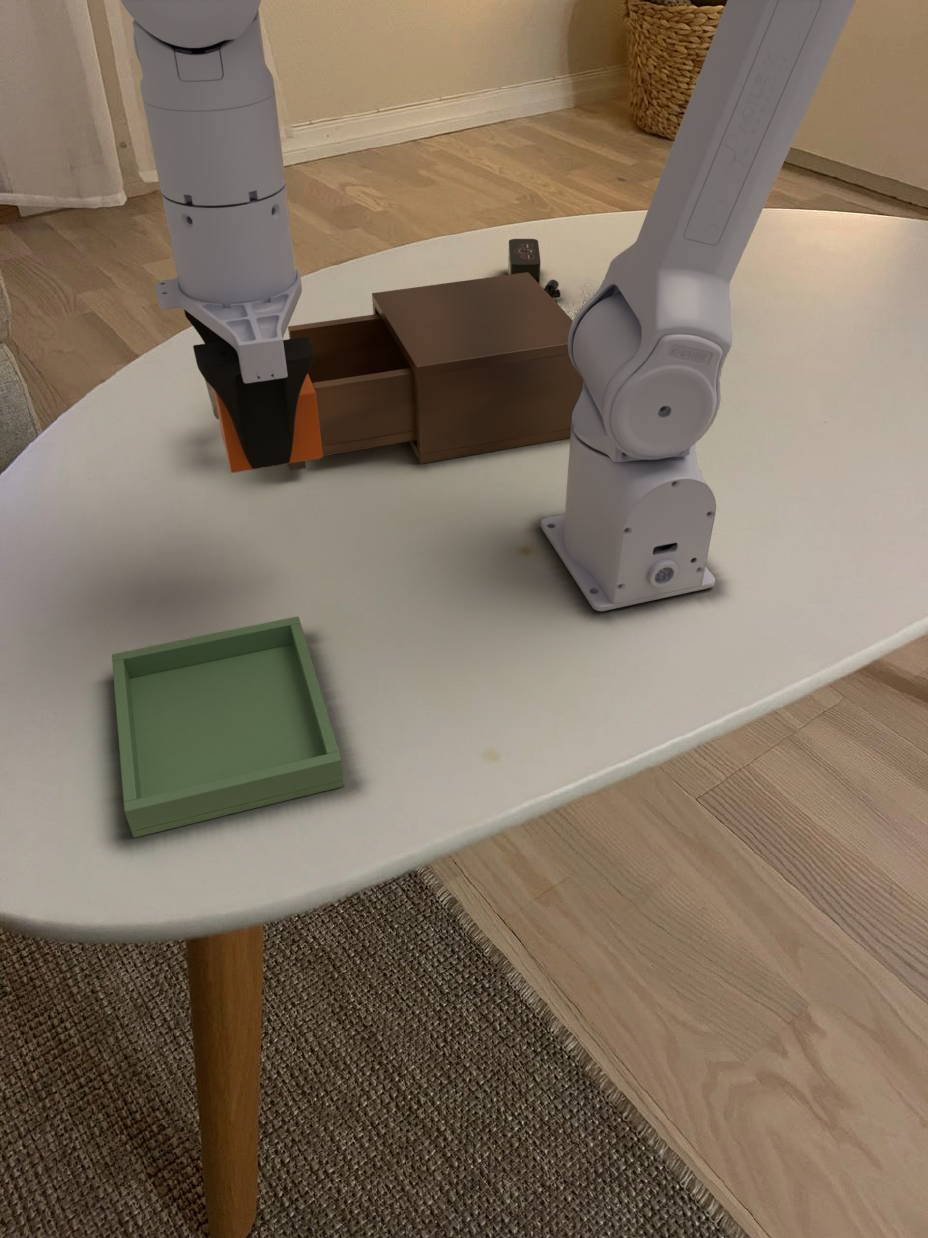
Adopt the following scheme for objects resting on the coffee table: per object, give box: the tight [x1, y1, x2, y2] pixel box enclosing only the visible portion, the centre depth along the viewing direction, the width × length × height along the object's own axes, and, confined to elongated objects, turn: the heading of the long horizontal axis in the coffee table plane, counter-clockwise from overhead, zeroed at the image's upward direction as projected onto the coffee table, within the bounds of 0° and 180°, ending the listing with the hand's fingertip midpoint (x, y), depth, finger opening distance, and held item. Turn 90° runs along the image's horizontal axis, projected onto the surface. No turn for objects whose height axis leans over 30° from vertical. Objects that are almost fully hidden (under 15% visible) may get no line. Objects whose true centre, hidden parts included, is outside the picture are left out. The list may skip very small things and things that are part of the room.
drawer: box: [204, 314, 417, 472], centre depth 73 cm, size 16×11×6 cm
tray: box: [111, 616, 346, 838], centre depth 52 cm, size 11×10×2 cm
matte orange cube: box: [213, 374, 324, 474], centre depth 55 cm, size 4×5×4 cm
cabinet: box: [371, 272, 584, 465], centre depth 76 cm, size 13×13×8 cm
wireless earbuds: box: [507, 238, 561, 299], centre depth 95 cm, size 5×7×3 cm, turn 179°
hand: (263, 441), depth 56 cm, fingers closed on matte orange cube, 4 cm apart
